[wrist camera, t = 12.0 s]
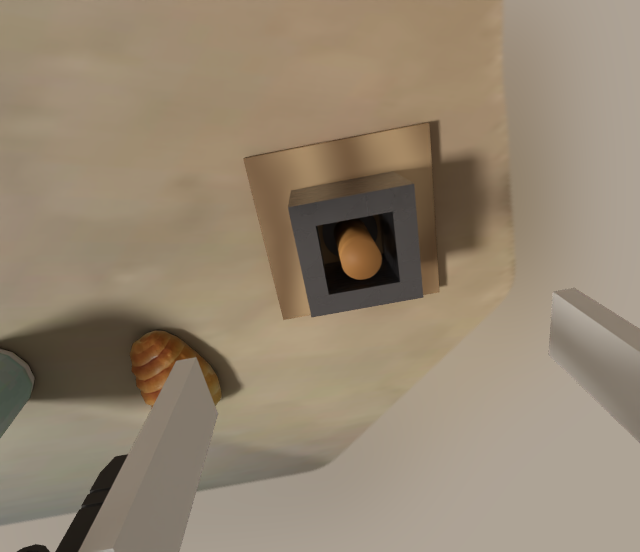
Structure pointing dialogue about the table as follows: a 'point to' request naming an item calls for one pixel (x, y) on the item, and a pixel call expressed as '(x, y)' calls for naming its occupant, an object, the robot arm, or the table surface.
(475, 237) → the table surface
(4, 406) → the disposable coffee cup
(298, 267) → the keeper
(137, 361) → the pastry
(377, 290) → the hollow square block
